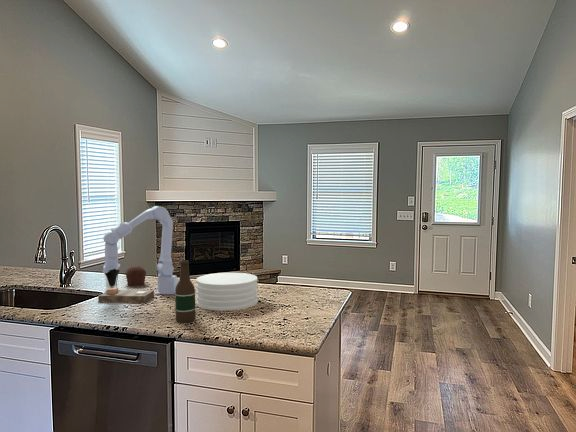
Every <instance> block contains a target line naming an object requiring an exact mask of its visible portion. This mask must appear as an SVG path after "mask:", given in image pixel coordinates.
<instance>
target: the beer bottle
mask: <svg viewBox="0 0 576 432" xmlns="http://www.w3.org/2000/svg"><path fill="white" fill-rule="evenodd" d="M189 264H190V261H189V260H188V259H187V260H186V259H184V260H183V259H182V260H180V261H179V265H180V268H179V270H180V271H179V280H178V284H177V286H176V289H175V294H174V299H175V300H174V302H175V307H174V308H175V311H174V312H175V313H174V314H175V321H176V322H177V323H178V324H187V323H192V322H194V321H195V320H196V290H195V286H194V283H193V282H192V281H191V278H190V277H191V276H190V265H189Z"/></svg>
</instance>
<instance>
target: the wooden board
mask: <svg viewBox="0 0 576 432" xmlns="http://www.w3.org/2000/svg"><path fill="white" fill-rule="evenodd" d="M138 291H147V293H145V294H135V293H137V292H138ZM154 297H155V290H154V289H153V290H152V289H151V290H150V289H145V290H143V289H142V290H141V289H140V290H139V289H137V290H135V289H118V293H116V294H106V292H105V291H104V292H103V293H101V294H99V295H98V297H97V298H98V302H97V303H140V304H141V303H146V302H148V301H149V300H152V299H153V298H154Z"/></svg>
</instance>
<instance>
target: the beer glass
mask: <svg viewBox="0 0 576 432" xmlns="http://www.w3.org/2000/svg"><path fill="white" fill-rule="evenodd" d="M103 266H105V262H103ZM116 270H119V268H117V269H116ZM103 277H104V282H105V291H104V293H105V292H106V290H107V289H109V288H118V280H119V274H118V275H117V278H116V283H115V285H114V286H110V285H109V282H108V279H107V277H106V275H105V274H104V273H103Z"/></svg>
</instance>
